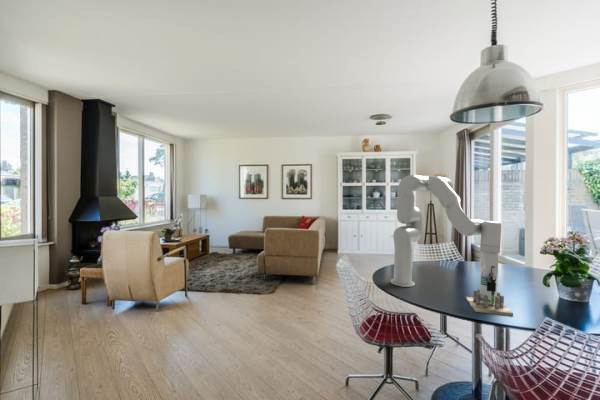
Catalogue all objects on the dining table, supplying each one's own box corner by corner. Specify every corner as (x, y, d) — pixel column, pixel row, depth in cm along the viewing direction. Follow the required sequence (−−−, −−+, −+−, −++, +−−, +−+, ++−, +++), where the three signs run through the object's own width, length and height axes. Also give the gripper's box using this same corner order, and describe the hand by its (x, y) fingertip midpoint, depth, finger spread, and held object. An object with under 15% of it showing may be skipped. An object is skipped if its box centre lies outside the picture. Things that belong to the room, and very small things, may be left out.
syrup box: (478, 301, 135) (480, 268, 134) (482, 298, 139) (484, 266, 138) (493, 305, 131) (495, 271, 130) (496, 301, 135) (498, 269, 134)
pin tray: (465, 299, 144) (466, 286, 144) (499, 302, 140) (500, 289, 140) (475, 311, 129) (475, 297, 129) (513, 316, 125) (513, 301, 125)
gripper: (475, 245, 143) (473, 281, 144) (486, 251, 127) (484, 293, 127) (493, 246, 141) (491, 283, 142) (507, 253, 125) (505, 295, 125)
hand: (488, 288), depth 134 cm, fingers closed on syrup box, 7 cm apart
